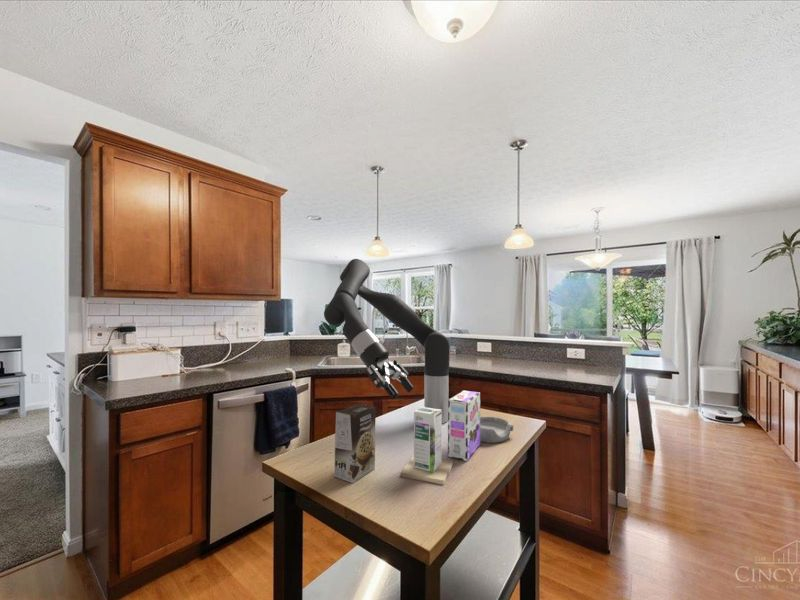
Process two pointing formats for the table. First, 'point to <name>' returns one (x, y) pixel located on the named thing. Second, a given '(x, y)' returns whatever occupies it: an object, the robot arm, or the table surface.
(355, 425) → the grey cardboard box
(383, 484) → the table surface
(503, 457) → the table surface
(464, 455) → the candy box
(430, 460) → the syrup box
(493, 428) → the dish
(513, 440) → the table surface
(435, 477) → the maple board
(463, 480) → the table surface
